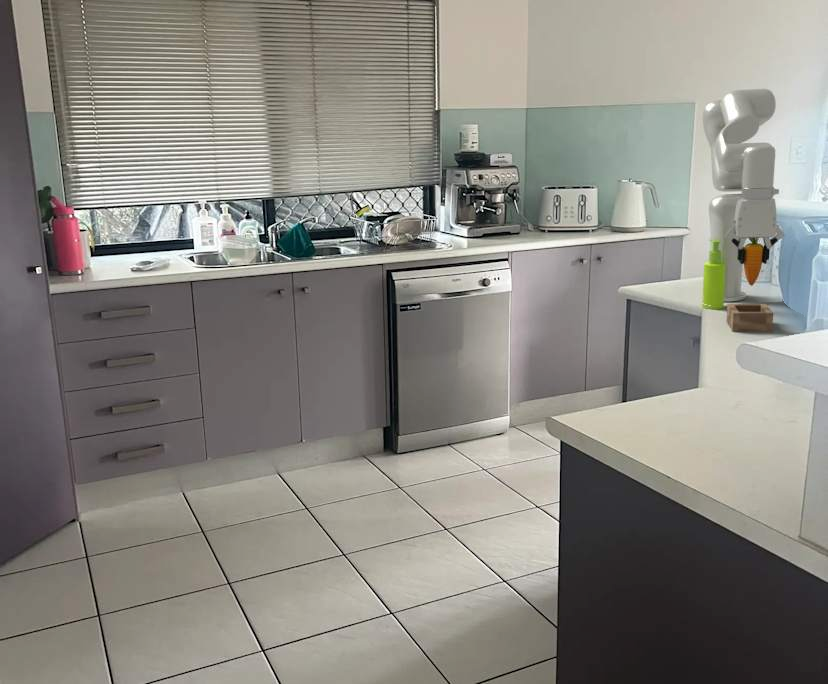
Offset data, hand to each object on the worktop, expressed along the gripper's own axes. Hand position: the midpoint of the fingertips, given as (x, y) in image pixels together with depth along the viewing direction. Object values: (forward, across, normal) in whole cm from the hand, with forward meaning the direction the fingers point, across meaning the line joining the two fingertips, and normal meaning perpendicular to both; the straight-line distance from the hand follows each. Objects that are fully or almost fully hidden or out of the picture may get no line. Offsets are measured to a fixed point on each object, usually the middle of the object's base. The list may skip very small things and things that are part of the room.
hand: (752, 262), depth 222 cm
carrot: (+7, 0, 0) cm, 7 cm away
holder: (+18, 0, 0) cm, 18 cm away
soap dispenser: (+18, +6, -22) cm, 29 cm away
